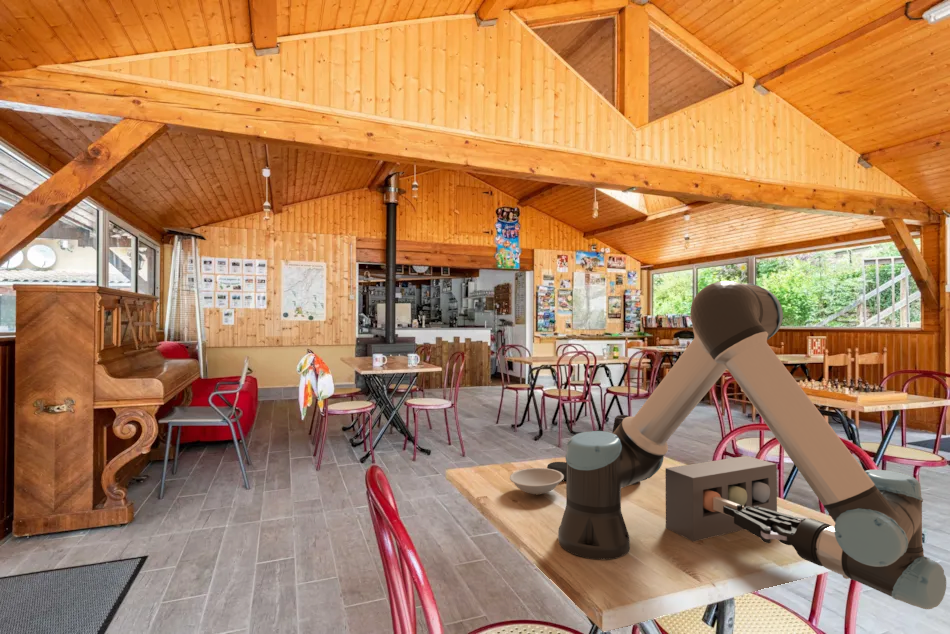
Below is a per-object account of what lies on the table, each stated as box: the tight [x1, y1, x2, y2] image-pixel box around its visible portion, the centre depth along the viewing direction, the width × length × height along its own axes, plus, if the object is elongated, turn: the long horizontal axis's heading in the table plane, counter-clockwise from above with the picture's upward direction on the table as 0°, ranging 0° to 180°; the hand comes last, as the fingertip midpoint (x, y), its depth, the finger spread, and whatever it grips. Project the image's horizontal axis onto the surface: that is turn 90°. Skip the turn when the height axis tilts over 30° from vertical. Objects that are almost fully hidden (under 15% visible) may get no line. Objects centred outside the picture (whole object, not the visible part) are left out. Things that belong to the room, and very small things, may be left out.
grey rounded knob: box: [738, 480, 770, 502], centre depth 117 cm, size 4×6×4 cm
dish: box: [509, 467, 564, 495], centre depth 137 cm, size 18×14×5 cm
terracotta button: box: [703, 489, 721, 512], centre depth 111 cm, size 4×6×4 cm
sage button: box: [715, 485, 747, 506], centre depth 114 cm, size 4×6×4 cm
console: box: [665, 455, 778, 542], centre depth 116 cm, size 28×8×14 cm, turn 114°
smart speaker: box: [546, 461, 566, 480], centre depth 152 cm, size 9×9×4 cm
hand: (715, 503), depth 108 cm, fingers closed
